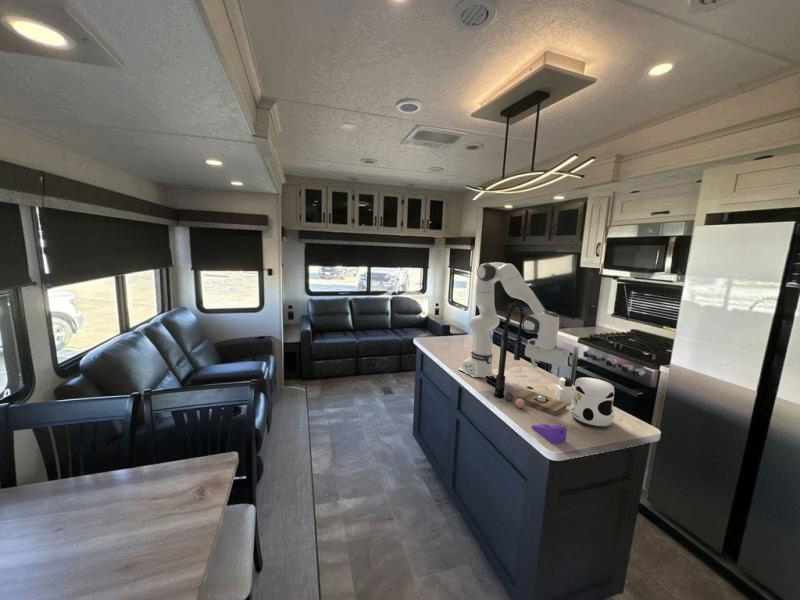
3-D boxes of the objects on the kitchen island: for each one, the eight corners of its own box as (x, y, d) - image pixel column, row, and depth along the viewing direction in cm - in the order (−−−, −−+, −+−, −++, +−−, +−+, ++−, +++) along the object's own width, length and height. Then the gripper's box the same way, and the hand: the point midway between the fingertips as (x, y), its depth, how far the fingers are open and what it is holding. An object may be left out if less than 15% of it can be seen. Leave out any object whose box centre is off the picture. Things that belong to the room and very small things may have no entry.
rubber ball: (502, 399, 167) (503, 391, 167) (507, 397, 170) (507, 389, 170) (510, 402, 164) (510, 394, 163) (514, 400, 167) (515, 392, 166)
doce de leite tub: (561, 411, 156) (565, 376, 153) (594, 411, 158) (598, 376, 155) (585, 431, 139) (589, 392, 136) (622, 430, 140) (627, 391, 138)
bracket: (565, 442, 131) (567, 426, 130) (551, 444, 129) (553, 428, 128) (544, 426, 142) (545, 412, 141) (531, 429, 140) (532, 414, 139)
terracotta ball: (513, 407, 159) (513, 398, 159) (517, 404, 162) (518, 396, 162) (521, 410, 156) (522, 401, 155) (526, 407, 159) (526, 399, 158)
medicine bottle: (568, 397, 172) (570, 376, 170) (574, 403, 165) (576, 381, 163) (554, 396, 173) (556, 375, 171) (559, 402, 166) (561, 380, 164)
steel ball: (538, 401, 166) (539, 393, 166) (547, 404, 163) (547, 396, 162) (534, 404, 163) (534, 395, 163) (543, 407, 160) (543, 398, 159)
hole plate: (516, 400, 167) (517, 396, 166) (528, 394, 174) (529, 390, 174) (555, 415, 152) (555, 410, 151) (566, 408, 159) (566, 403, 159)
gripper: (571, 348, 153) (567, 375, 155) (530, 337, 168) (528, 362, 170) (565, 350, 149) (561, 378, 151) (524, 339, 164) (521, 365, 166)
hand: (543, 370), depth 161 cm, fingers open, 8 cm apart
